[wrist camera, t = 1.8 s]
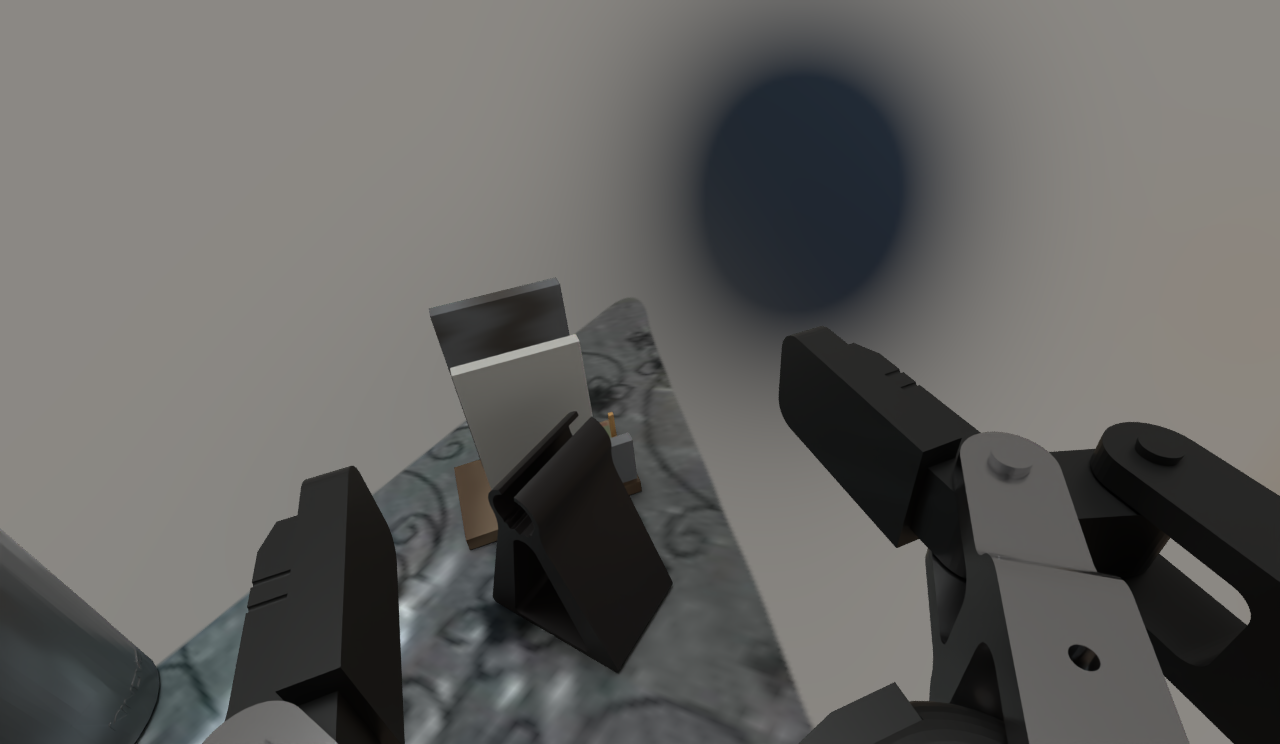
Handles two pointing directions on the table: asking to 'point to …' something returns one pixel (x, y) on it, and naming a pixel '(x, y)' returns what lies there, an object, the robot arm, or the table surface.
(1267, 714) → the robot arm
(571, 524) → the phone stand
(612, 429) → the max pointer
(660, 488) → the table surface
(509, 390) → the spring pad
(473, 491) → the grey bookend
